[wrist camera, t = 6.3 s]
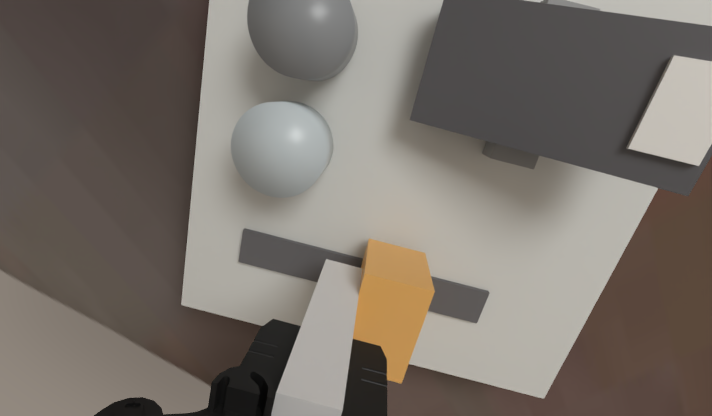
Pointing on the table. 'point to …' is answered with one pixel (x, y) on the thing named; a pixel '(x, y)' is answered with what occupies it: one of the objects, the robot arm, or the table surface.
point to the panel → (408, 202)
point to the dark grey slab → (574, 87)
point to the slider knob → (393, 302)
